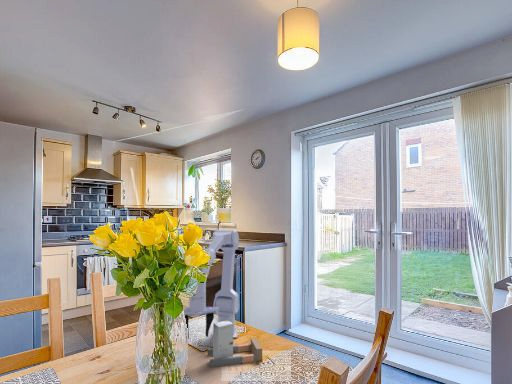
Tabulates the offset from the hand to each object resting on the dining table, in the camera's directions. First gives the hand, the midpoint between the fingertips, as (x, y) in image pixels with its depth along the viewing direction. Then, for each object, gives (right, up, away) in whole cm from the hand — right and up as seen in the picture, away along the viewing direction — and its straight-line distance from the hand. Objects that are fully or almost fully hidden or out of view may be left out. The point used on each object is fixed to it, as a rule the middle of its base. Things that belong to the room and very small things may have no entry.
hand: (197, 336), depth 104 cm
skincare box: (+9, -9, +2) cm, 12 cm away
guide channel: (+13, -9, +2) cm, 15 cm away
